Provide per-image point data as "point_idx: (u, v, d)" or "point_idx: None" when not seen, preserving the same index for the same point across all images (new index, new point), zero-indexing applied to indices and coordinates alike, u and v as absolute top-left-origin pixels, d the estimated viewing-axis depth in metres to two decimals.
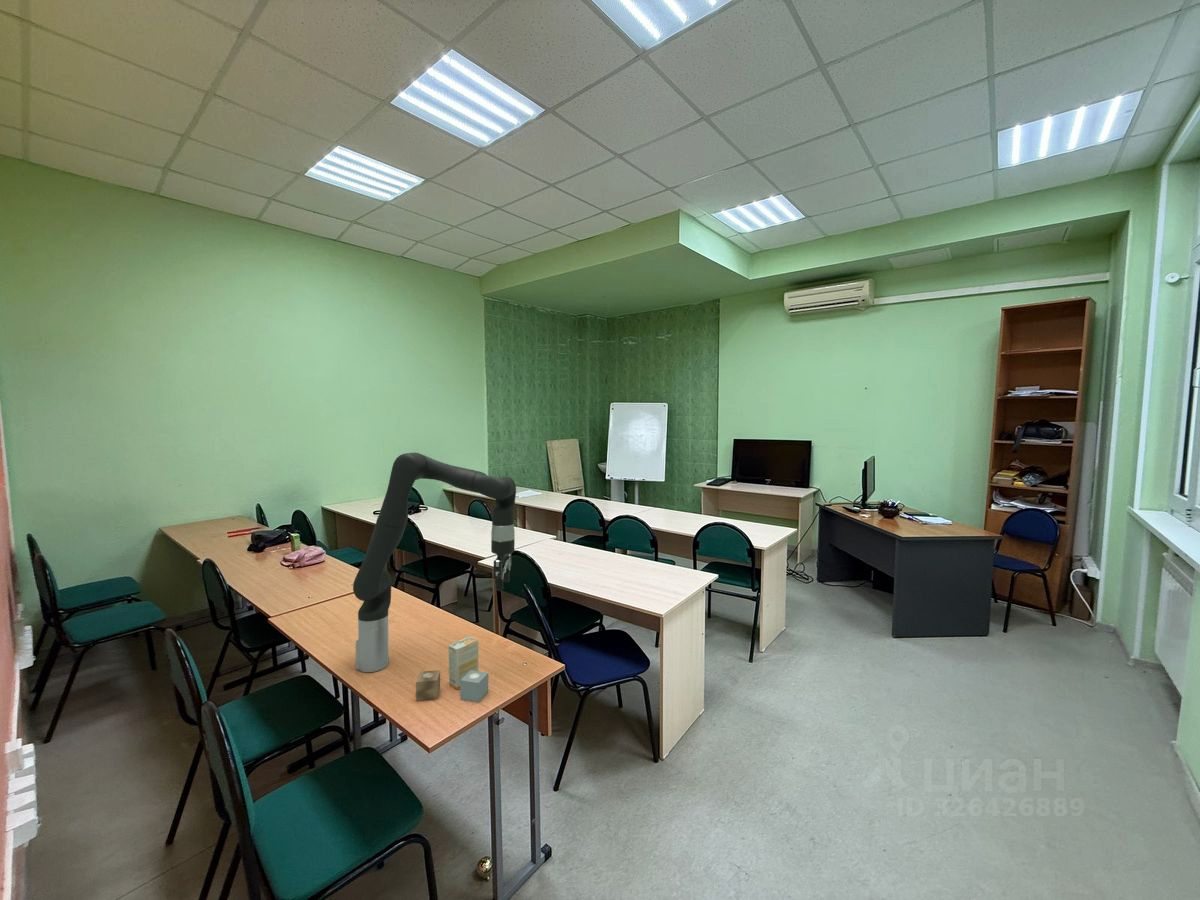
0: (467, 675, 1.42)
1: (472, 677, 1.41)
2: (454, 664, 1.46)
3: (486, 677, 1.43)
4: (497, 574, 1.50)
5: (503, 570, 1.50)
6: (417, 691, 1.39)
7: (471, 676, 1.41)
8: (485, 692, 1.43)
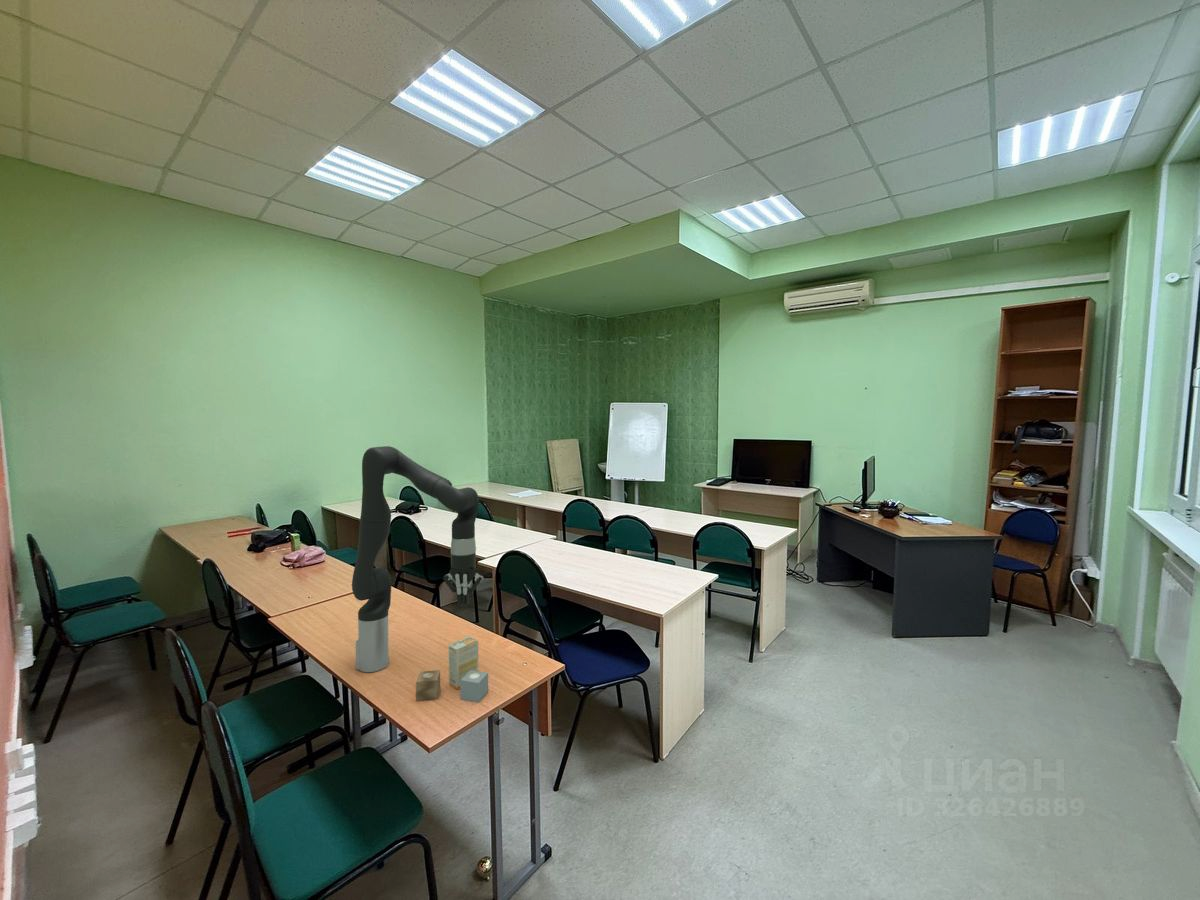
0: (467, 675, 1.42)
1: (472, 677, 1.41)
2: (454, 664, 1.46)
3: (486, 677, 1.43)
4: None
5: None
6: (417, 691, 1.39)
7: (471, 676, 1.41)
8: (485, 692, 1.43)
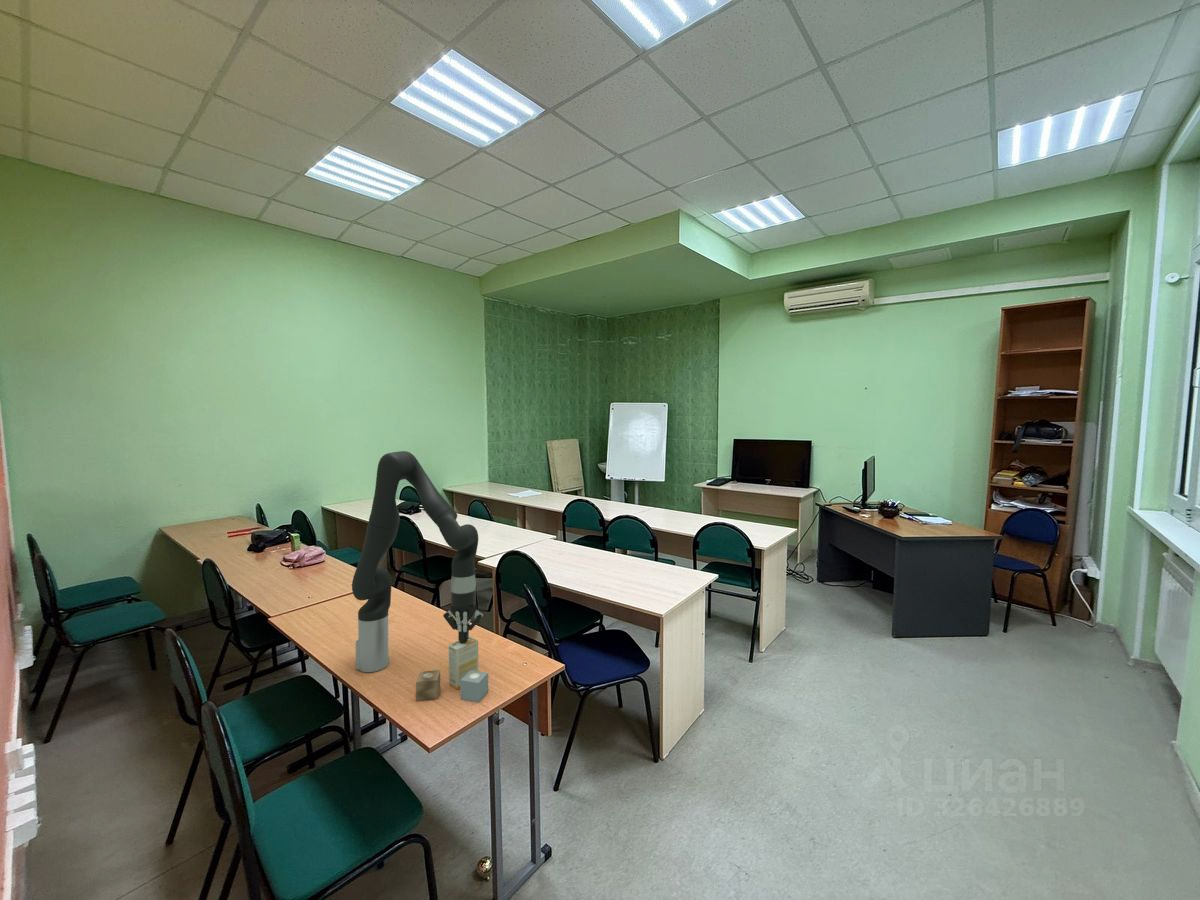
0: (467, 675, 1.42)
1: (472, 677, 1.41)
2: (454, 664, 1.46)
3: (486, 677, 1.43)
4: None
5: (469, 620, 1.50)
6: (417, 691, 1.39)
7: (471, 676, 1.41)
8: (485, 692, 1.43)
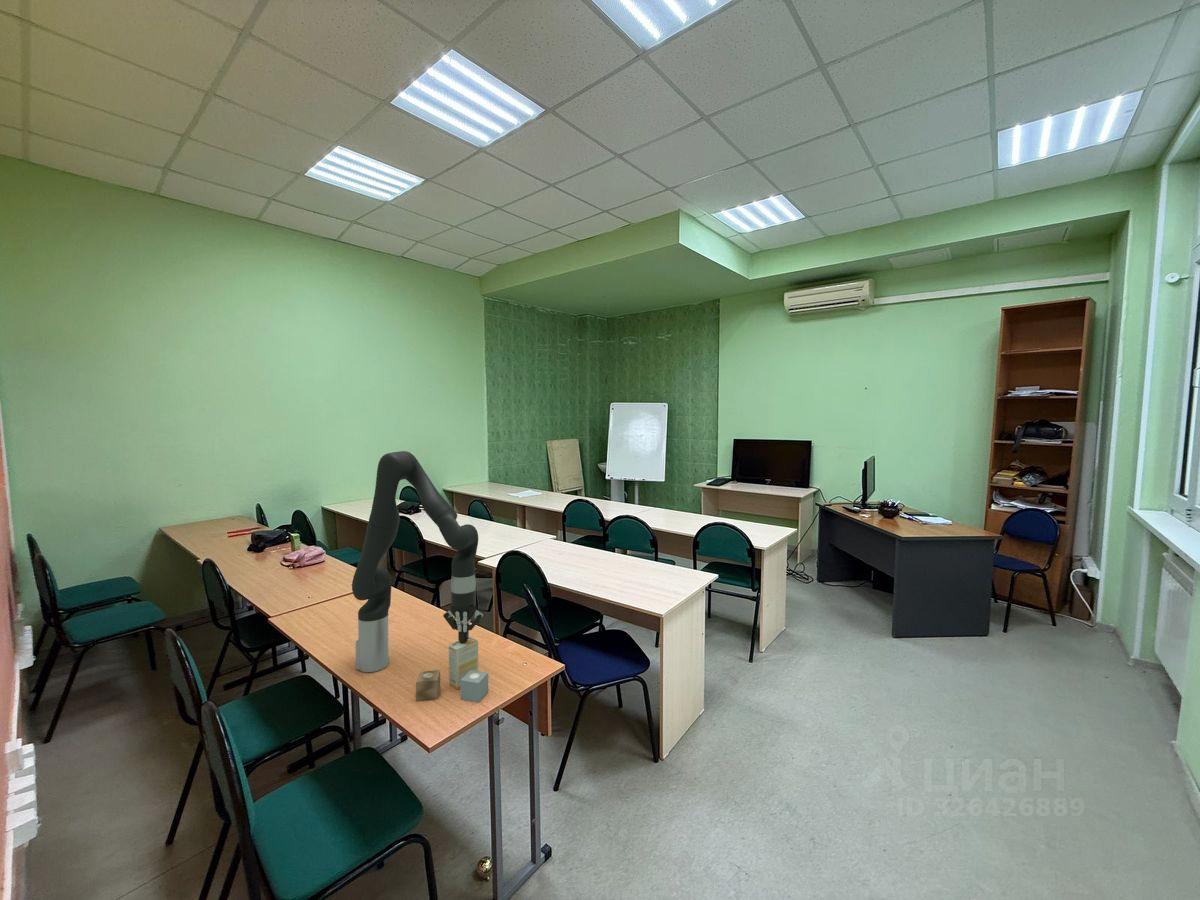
0: (467, 675, 1.42)
1: (472, 677, 1.41)
2: (454, 664, 1.46)
3: (486, 677, 1.43)
4: None
5: (469, 620, 1.50)
6: (417, 691, 1.39)
7: (471, 676, 1.41)
8: (485, 692, 1.43)
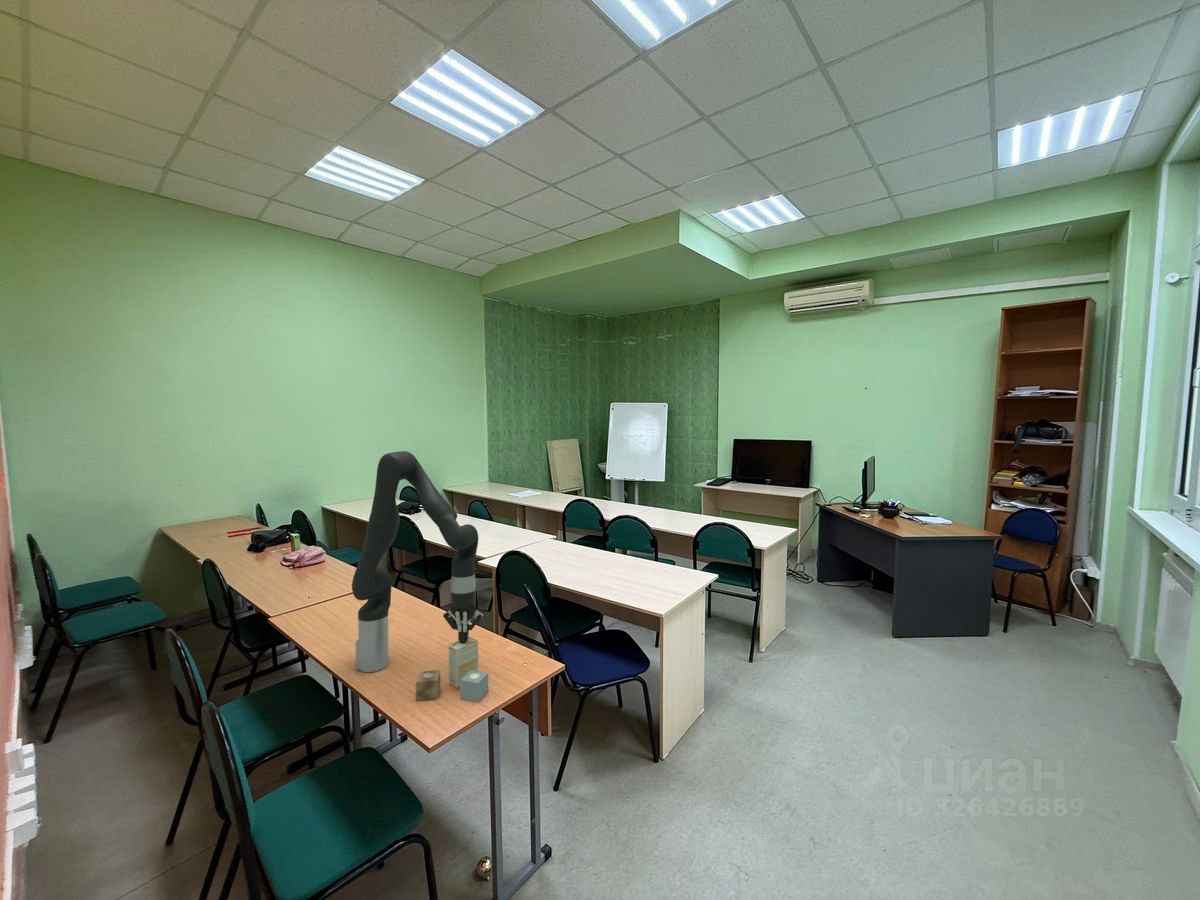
0: (467, 675, 1.42)
1: (472, 677, 1.41)
2: (454, 664, 1.46)
3: (486, 677, 1.43)
4: None
5: (469, 620, 1.50)
6: (417, 691, 1.39)
7: (471, 676, 1.41)
8: (485, 692, 1.43)
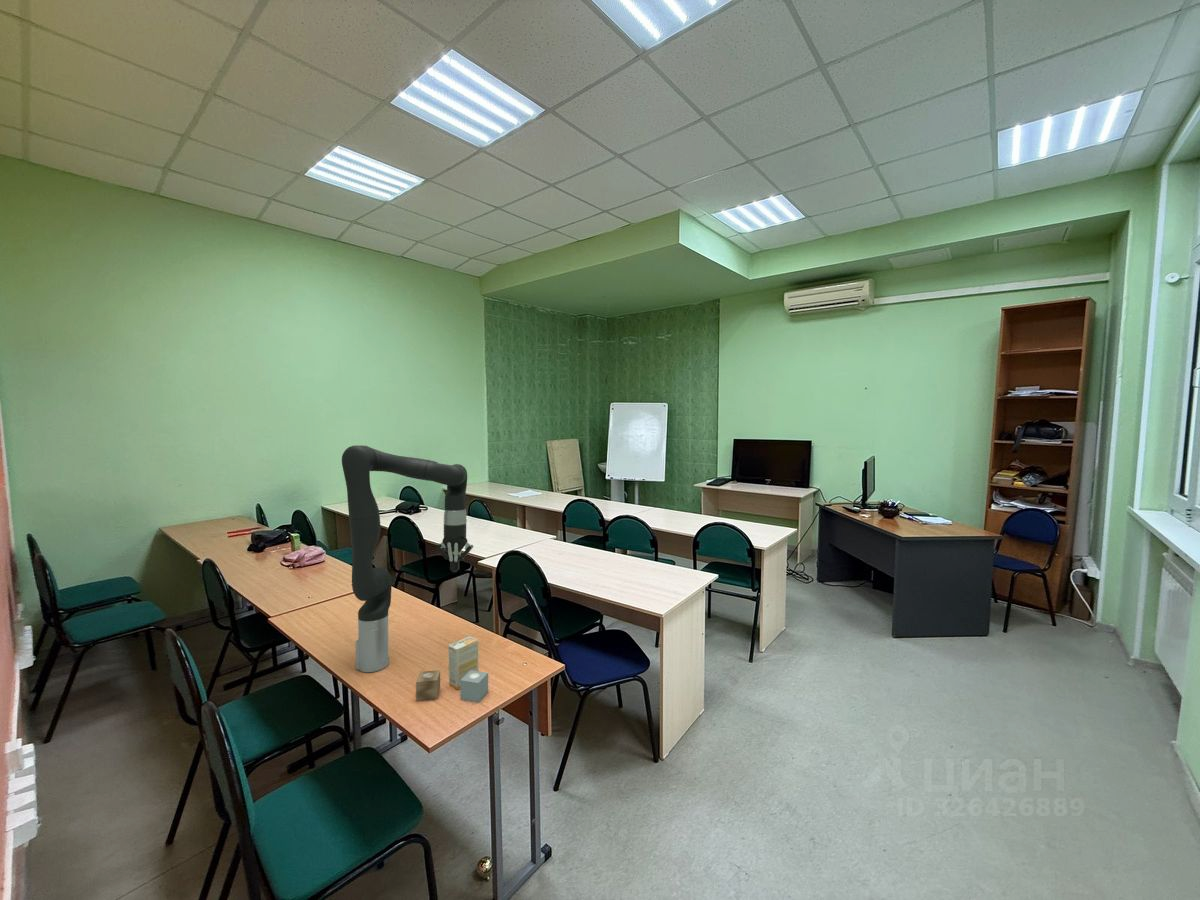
0: (467, 675, 1.42)
1: (472, 677, 1.41)
2: (454, 664, 1.46)
3: (486, 677, 1.43)
4: None
5: (460, 552, 1.63)
6: (417, 691, 1.39)
7: (471, 676, 1.41)
8: (485, 692, 1.43)
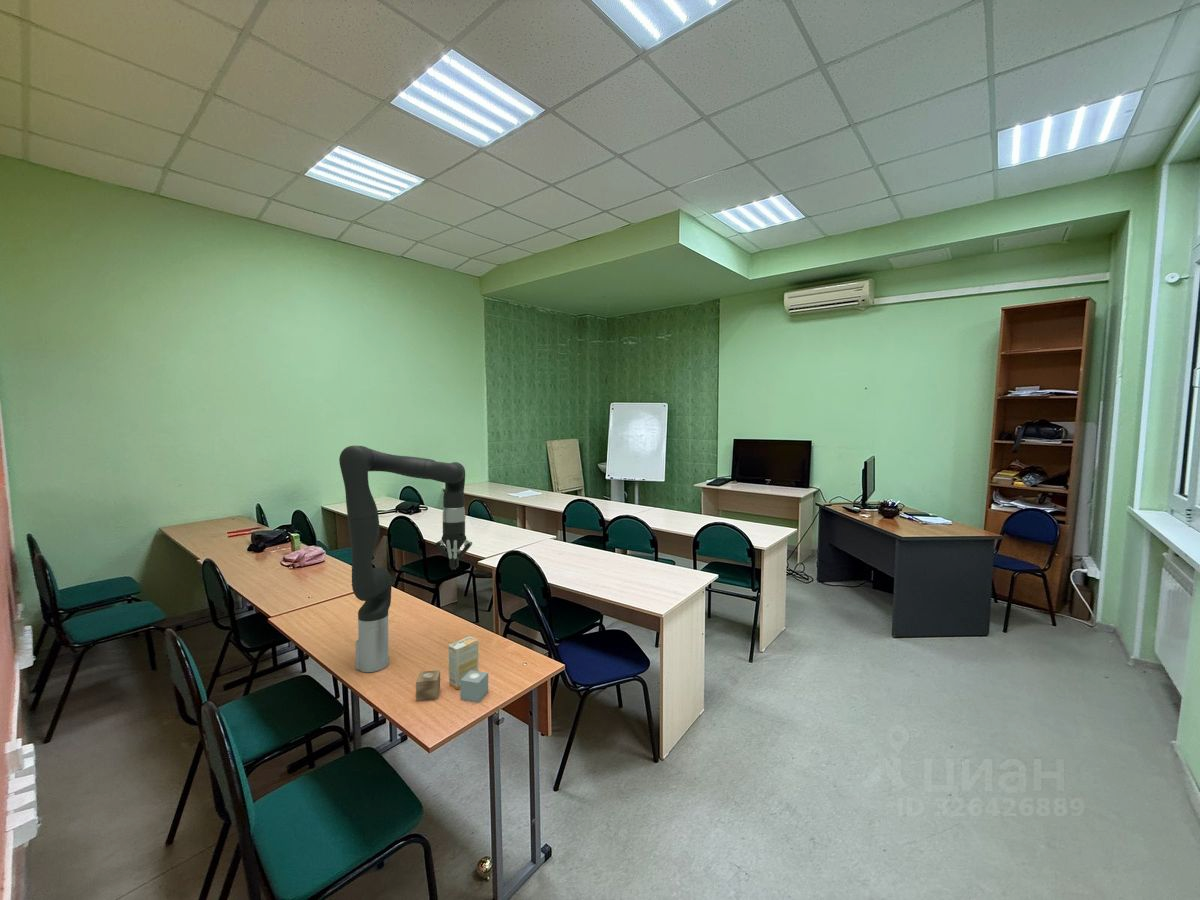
0: (467, 675, 1.42)
1: (472, 677, 1.41)
2: (454, 664, 1.46)
3: (486, 677, 1.43)
4: None
5: (459, 549, 1.65)
6: (417, 691, 1.39)
7: (471, 676, 1.41)
8: (485, 692, 1.43)
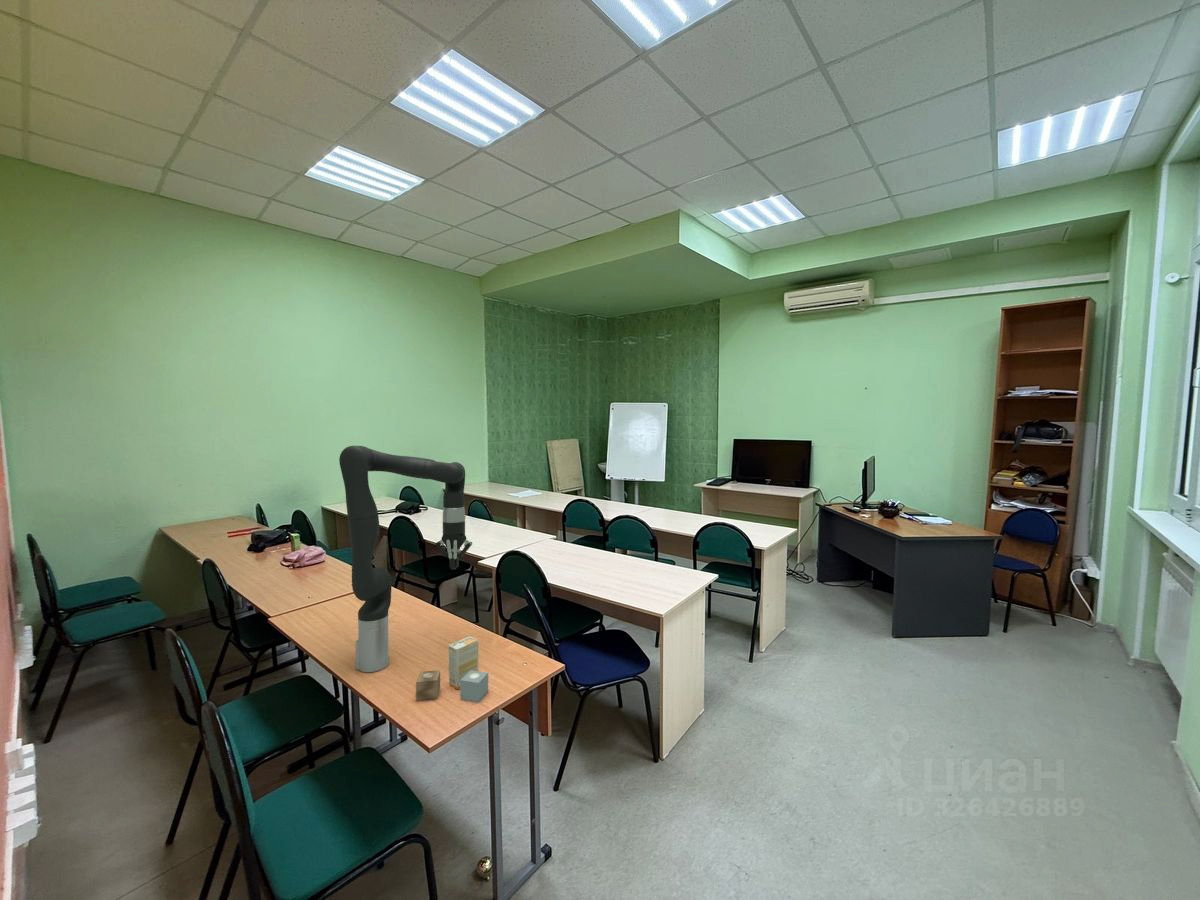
0: (467, 675, 1.42)
1: (472, 677, 1.41)
2: (454, 664, 1.46)
3: (486, 677, 1.43)
4: None
5: (459, 549, 1.65)
6: (417, 691, 1.39)
7: (471, 676, 1.41)
8: (485, 692, 1.43)
